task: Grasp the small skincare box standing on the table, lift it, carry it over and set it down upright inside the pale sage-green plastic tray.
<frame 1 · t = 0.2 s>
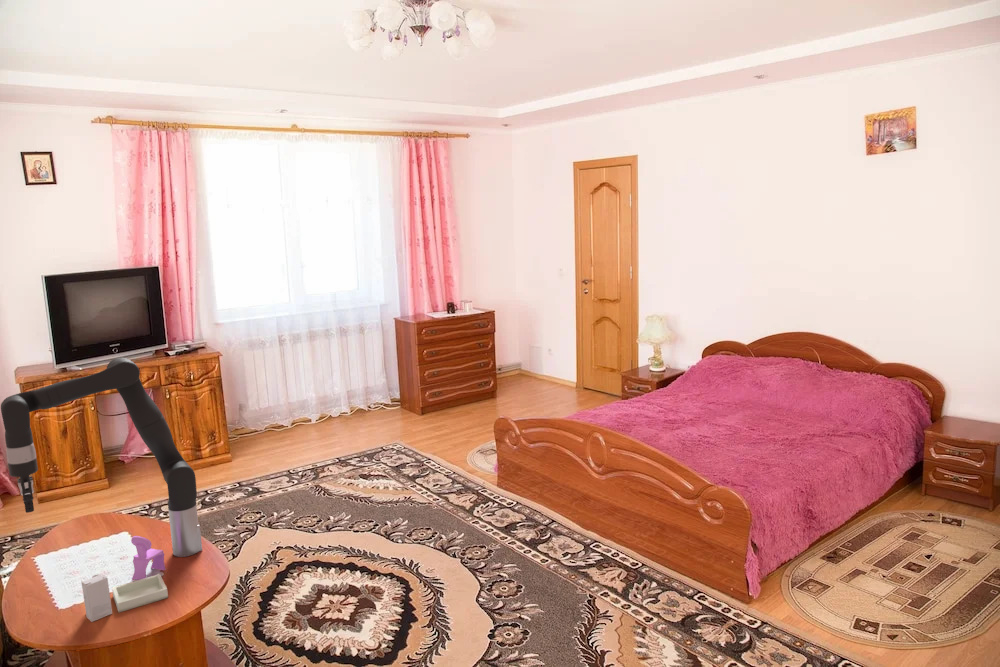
hand: (29, 507, 222), 29 cm above the table, fingers open, 8 cm apart
toy chair: (149, 574, 237), on the table
skincare box: (99, 616, 212), on the table
tray: (140, 596, 222), on the table
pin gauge: (99, 603, 219), on the table
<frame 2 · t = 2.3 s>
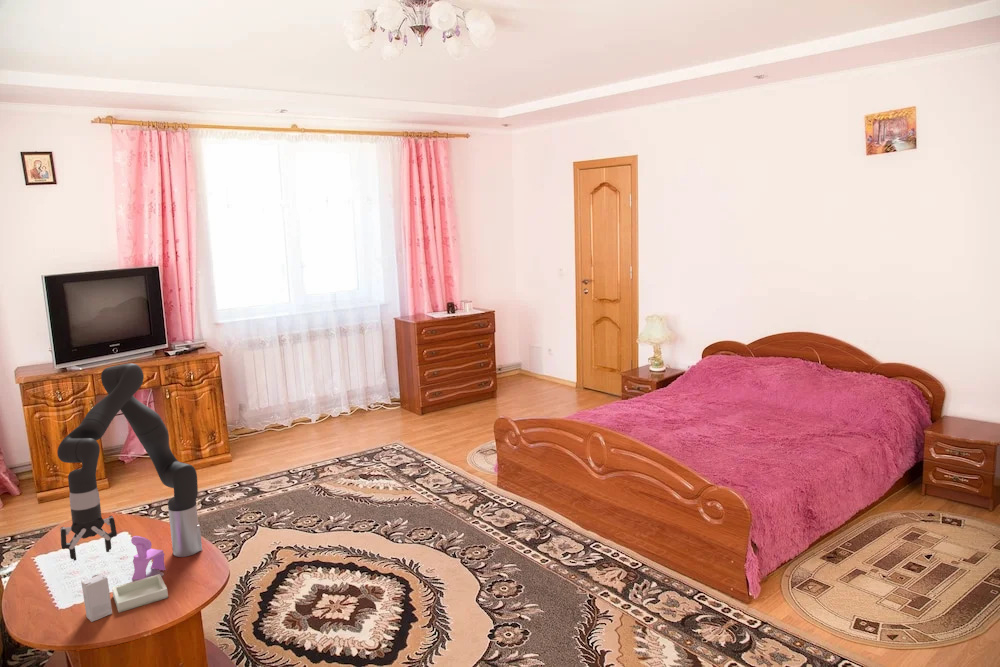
hand: (91, 555, 209), 20 cm above the table, fingers open, 8 cm apart
nothing on the table moved.
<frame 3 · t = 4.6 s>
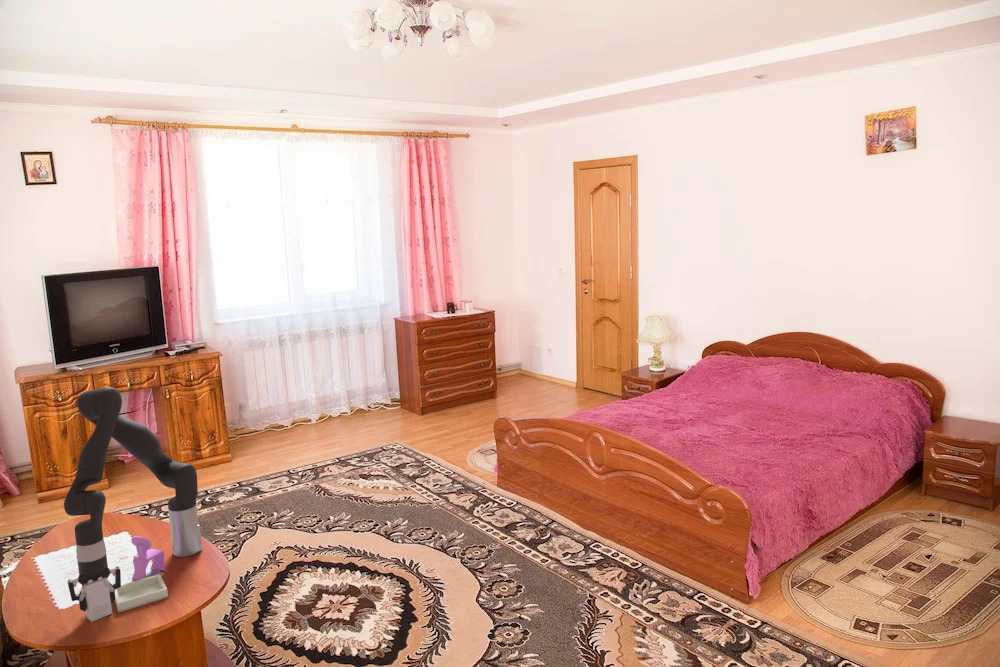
hand: (98, 606, 211), 3 cm above the table, fingers closed on skincare box, 6 cm apart
skincare box: (99, 616, 212), on the table, touching gripper
everything else where it was.
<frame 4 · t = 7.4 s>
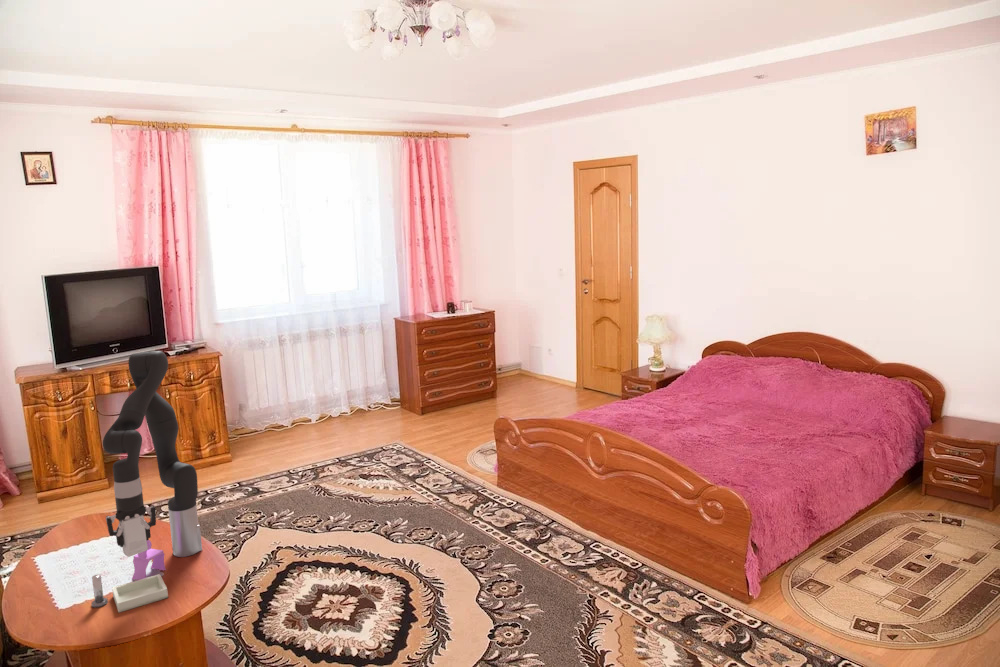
hand: (134, 542, 219), 18 cm above the table, fingers closed on skincare box, 6 cm apart
skincare box: (135, 553, 220), point 15 cm above the table, touching gripper
everything else where it was.
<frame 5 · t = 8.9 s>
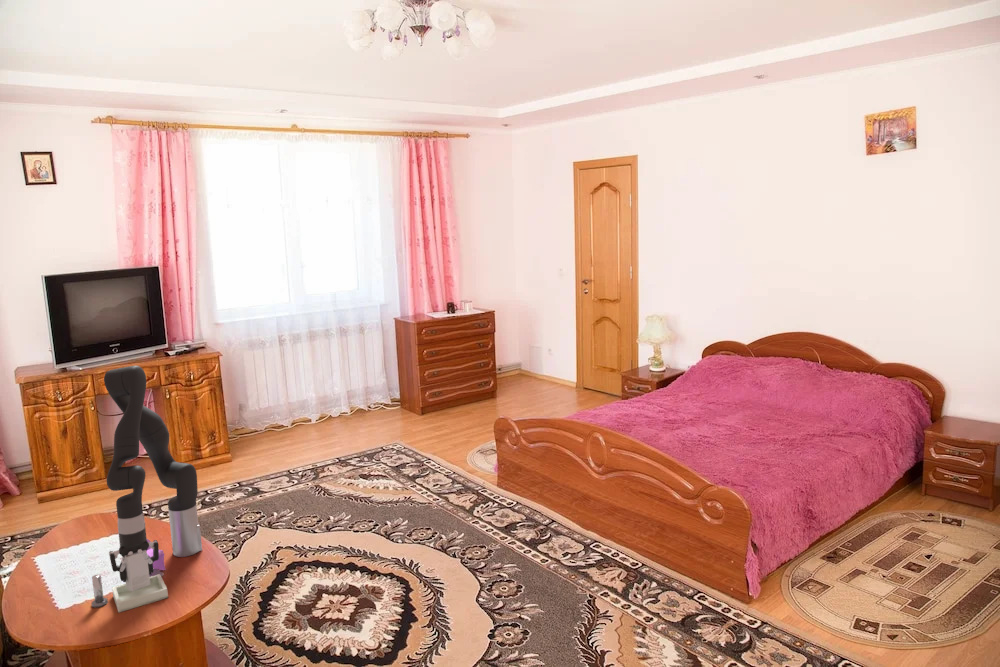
hand: (137, 577, 221), 7 cm above the table, fingers closed on skincare box, 6 cm apart
skincare box: (138, 587, 222), point 3 cm above the table, touching gripper
everything else where it was.
when the fingers open (5 cm above the table, at t = 10.3 s): skincare box stays where it is, resting on tray.
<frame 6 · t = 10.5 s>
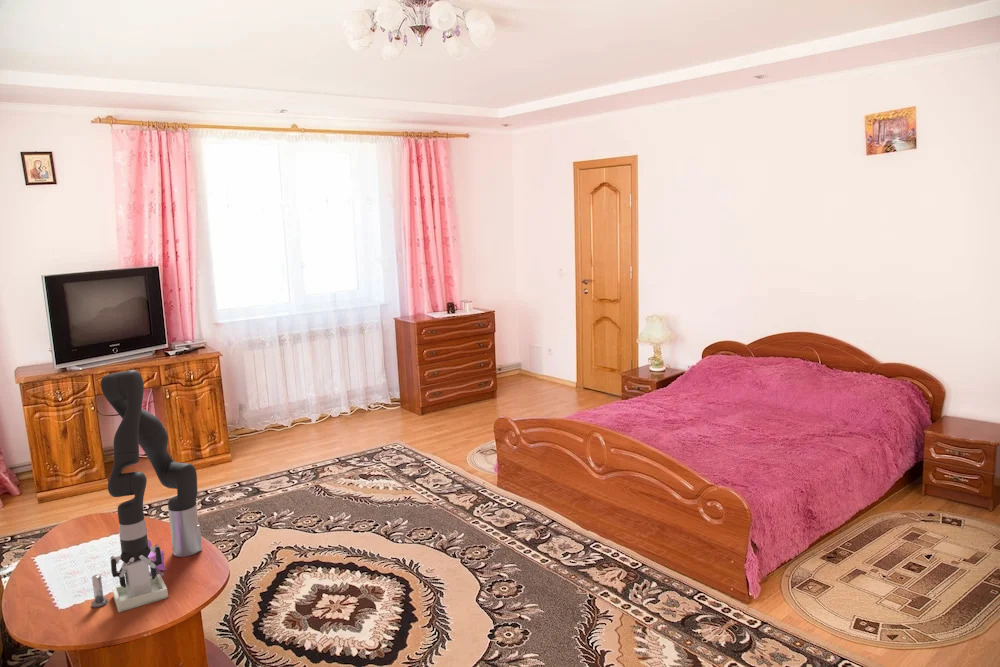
hand: (138, 582, 221), 5 cm above the table, fingers open, 8 cm apart
skincare box: (139, 595, 222), resting on tray
everything else where it was.
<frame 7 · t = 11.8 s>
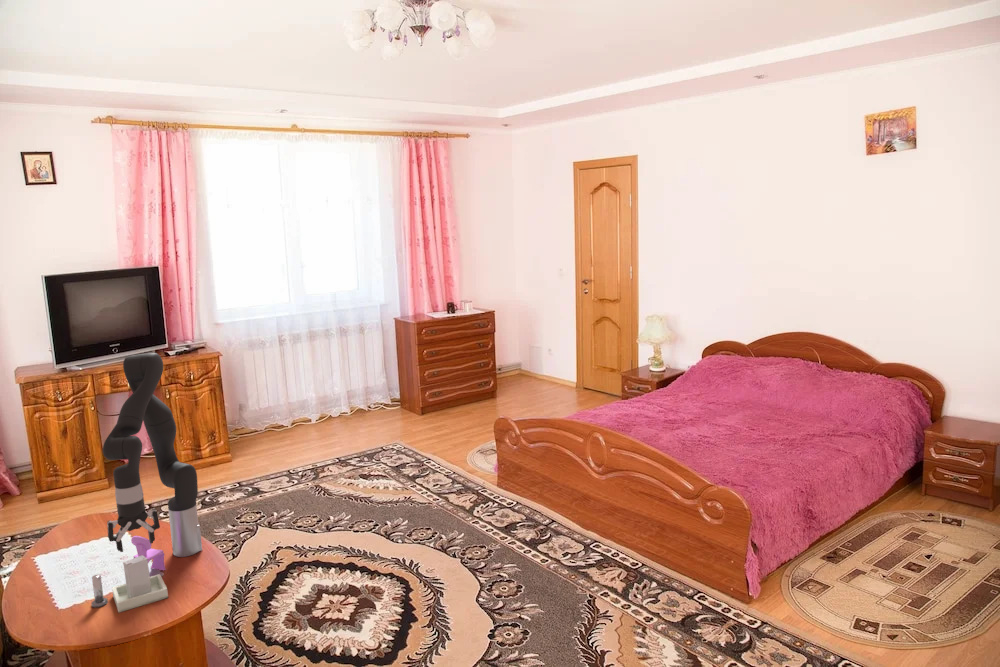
hand: (136, 546, 220), 17 cm above the table, fingers open, 8 cm apart
nothing on the table moved.
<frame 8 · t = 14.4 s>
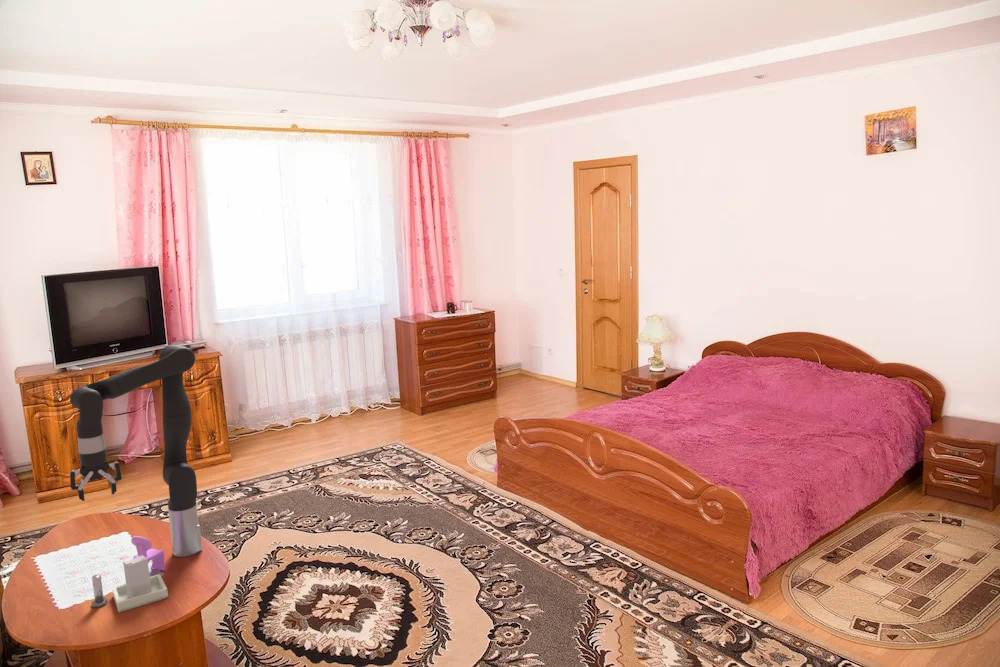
hand: (98, 496, 227), 30 cm above the table, fingers open, 8 cm apart
nothing on the table moved.
at the end: skincare box inside the target area on the tray (0.2 cm from its centre), point 0.4 cm above the tray's base; skincare box tilted 0°; the gripper is holding nothing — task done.
